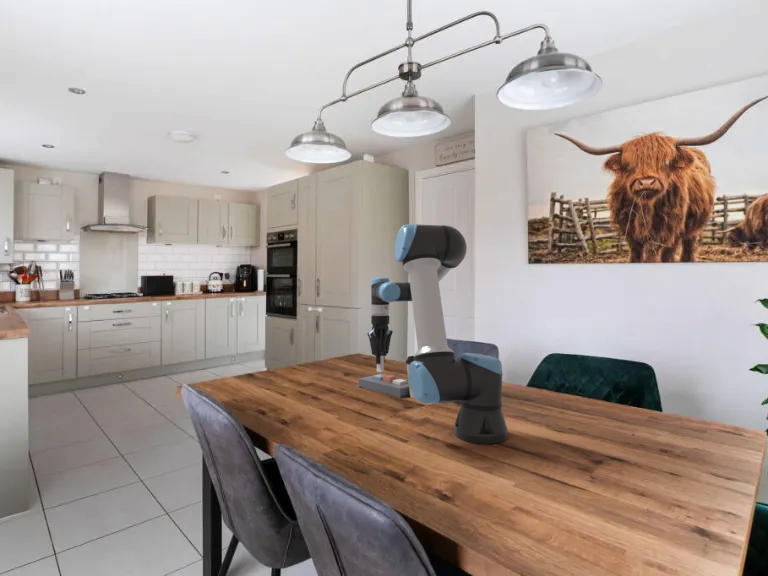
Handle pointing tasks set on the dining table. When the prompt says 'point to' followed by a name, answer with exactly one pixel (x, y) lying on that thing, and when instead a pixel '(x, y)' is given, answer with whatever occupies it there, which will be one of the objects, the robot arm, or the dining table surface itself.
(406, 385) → the console
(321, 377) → the dining table surface
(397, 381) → the key ivory
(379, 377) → the key blue
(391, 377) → the key red
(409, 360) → the coffee cup
